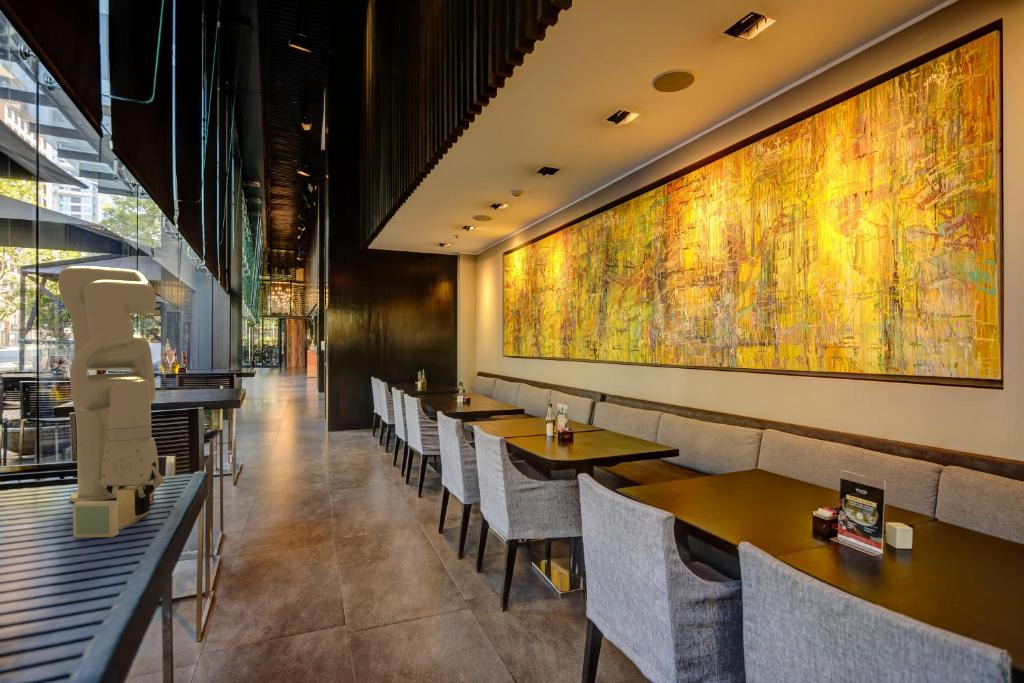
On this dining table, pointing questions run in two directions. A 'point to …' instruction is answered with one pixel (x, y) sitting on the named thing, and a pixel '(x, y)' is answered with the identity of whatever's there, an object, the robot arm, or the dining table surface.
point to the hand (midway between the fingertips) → (132, 512)
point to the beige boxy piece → (127, 506)
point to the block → (95, 519)
